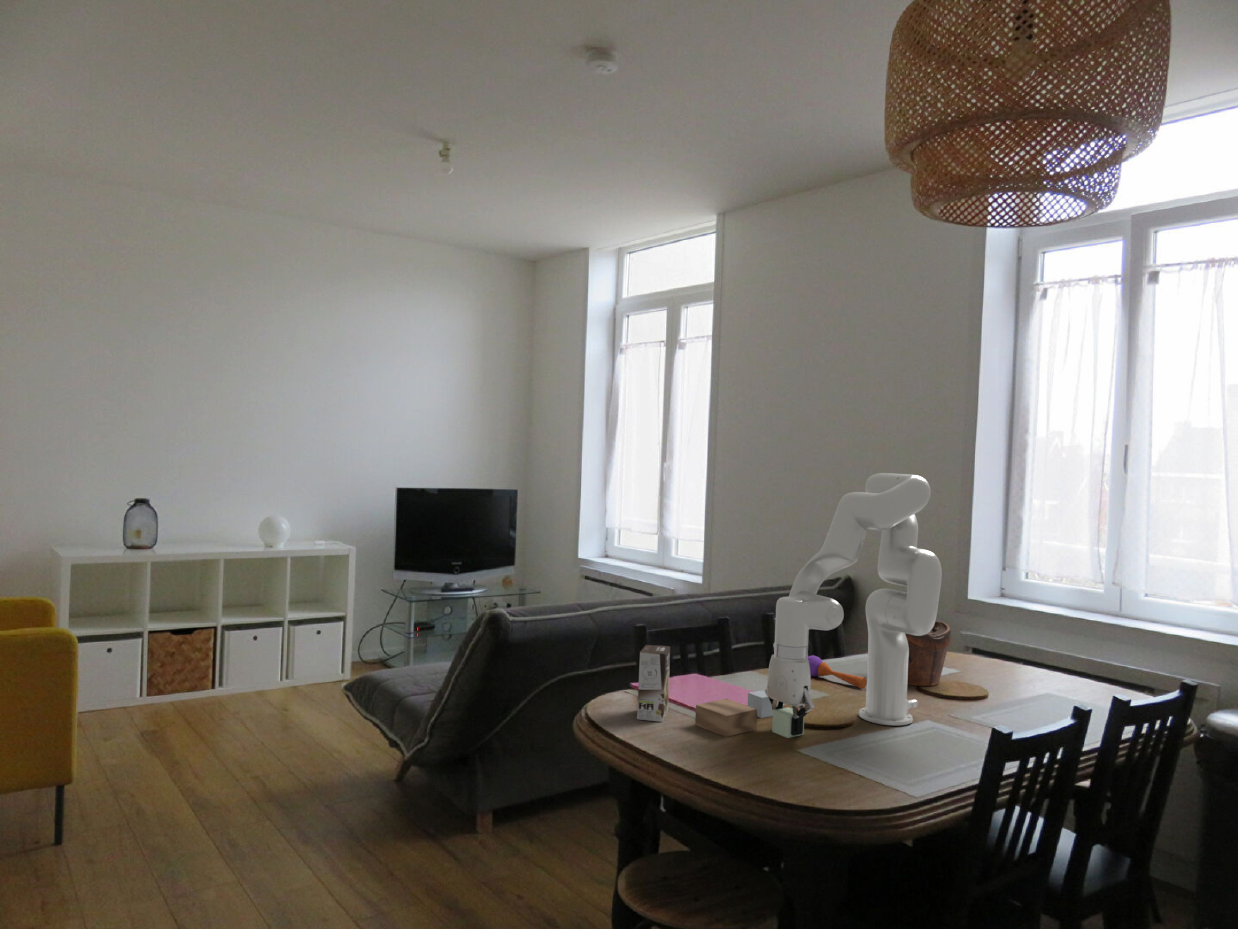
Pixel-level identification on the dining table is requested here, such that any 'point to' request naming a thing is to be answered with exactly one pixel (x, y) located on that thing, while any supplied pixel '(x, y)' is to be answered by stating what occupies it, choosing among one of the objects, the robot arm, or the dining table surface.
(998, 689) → the dining table surface
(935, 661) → the brown plant pot
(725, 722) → the walnut base block
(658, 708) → the coffee box
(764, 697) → the slate block
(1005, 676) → the dining table surface
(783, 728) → the sage block
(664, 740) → the dining table surface
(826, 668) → the purple and orange maraca
